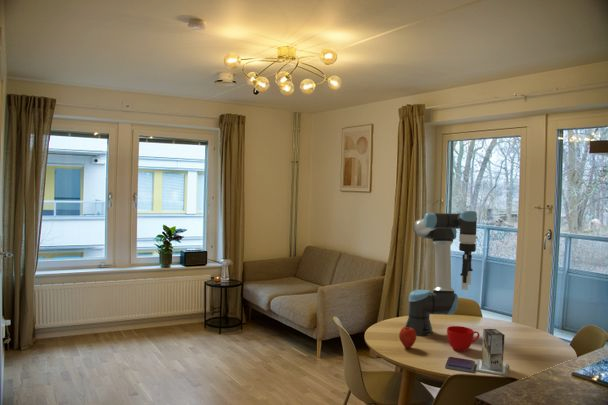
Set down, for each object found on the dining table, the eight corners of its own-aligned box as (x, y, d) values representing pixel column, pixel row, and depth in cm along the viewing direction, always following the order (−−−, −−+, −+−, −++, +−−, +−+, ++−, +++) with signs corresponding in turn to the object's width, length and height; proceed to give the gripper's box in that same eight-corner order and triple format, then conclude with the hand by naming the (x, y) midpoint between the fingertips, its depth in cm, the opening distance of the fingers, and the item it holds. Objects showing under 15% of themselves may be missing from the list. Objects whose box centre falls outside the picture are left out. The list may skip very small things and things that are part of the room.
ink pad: (445, 368, 216) (445, 364, 216) (448, 359, 227) (448, 355, 227) (473, 372, 211) (473, 368, 211) (475, 363, 222) (475, 359, 222)
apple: (397, 349, 239) (398, 328, 239) (400, 344, 247) (401, 323, 247) (414, 352, 236) (415, 330, 236) (417, 346, 244) (417, 325, 244)
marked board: (475, 371, 213) (476, 369, 213) (478, 360, 227) (478, 358, 227) (507, 376, 208) (507, 374, 208) (507, 364, 221) (507, 363, 221)
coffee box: (503, 370, 213) (505, 335, 212) (489, 370, 213) (491, 334, 212) (493, 362, 222) (495, 328, 221) (480, 362, 222) (482, 328, 221)
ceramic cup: (485, 352, 237) (486, 333, 237) (453, 354, 234) (454, 334, 234) (472, 344, 250) (472, 325, 250) (442, 345, 247) (442, 326, 247)
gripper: (473, 246, 214) (471, 292, 215) (478, 240, 237) (476, 283, 238) (456, 245, 218) (454, 291, 218) (462, 239, 240) (461, 281, 241)
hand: (466, 287), depth 228 cm, fingers open, 13 cm apart
